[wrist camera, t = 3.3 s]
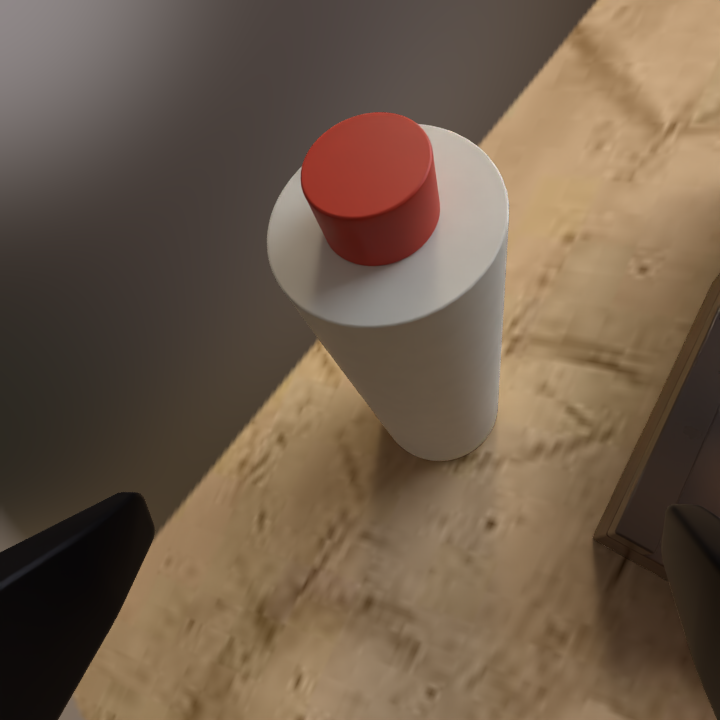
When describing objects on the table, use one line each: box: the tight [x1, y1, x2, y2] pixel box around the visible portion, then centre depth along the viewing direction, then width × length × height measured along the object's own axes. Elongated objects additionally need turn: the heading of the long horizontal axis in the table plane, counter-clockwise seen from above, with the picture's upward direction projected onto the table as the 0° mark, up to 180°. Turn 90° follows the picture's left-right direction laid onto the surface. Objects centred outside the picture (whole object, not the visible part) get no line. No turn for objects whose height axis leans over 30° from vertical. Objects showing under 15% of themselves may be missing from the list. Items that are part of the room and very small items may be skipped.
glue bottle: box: [267, 112, 509, 461], centre depth 15 cm, size 5×5×14 cm
